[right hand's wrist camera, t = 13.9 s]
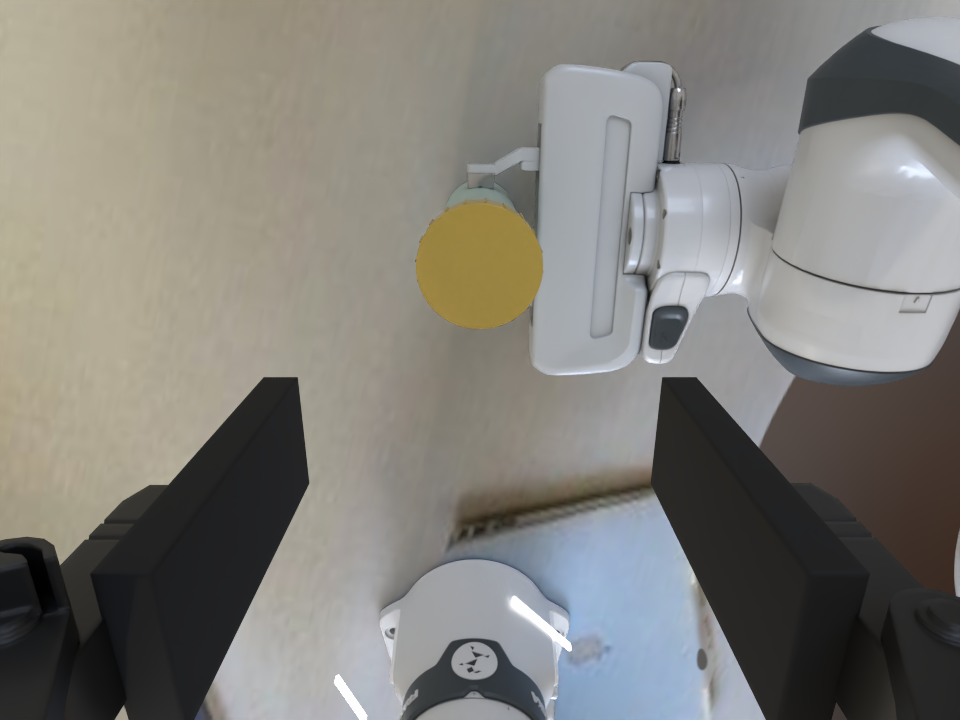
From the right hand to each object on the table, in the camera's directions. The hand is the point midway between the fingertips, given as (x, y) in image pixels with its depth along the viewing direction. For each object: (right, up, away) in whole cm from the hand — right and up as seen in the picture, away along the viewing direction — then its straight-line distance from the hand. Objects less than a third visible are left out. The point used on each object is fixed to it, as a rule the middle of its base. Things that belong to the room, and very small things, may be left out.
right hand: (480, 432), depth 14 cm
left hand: (-1, +11, +28) cm, 30 cm away
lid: (0, +6, +16) cm, 17 cm away
